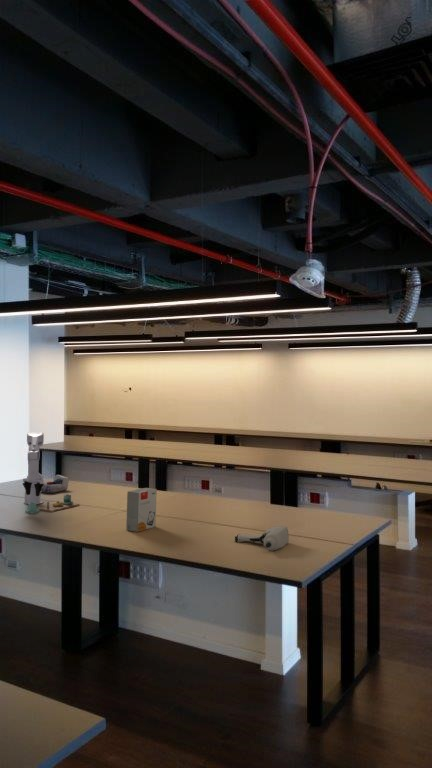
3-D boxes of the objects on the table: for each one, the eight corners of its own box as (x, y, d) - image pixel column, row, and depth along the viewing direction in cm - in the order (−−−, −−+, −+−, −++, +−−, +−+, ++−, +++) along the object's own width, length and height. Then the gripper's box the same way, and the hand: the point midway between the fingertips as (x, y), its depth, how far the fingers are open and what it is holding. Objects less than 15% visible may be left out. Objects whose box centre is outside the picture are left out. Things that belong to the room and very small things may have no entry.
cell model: (71, 475, 402) (48, 479, 385) (70, 490, 402) (48, 495, 386) (58, 473, 409) (35, 477, 392) (58, 488, 409) (35, 493, 393)
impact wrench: (222, 543, 262) (274, 535, 253) (239, 531, 284) (287, 524, 275) (226, 560, 262) (278, 554, 253) (242, 548, 283) (291, 541, 274)
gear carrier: (51, 512, 332) (51, 500, 332) (35, 509, 339) (35, 498, 339) (79, 505, 352) (79, 494, 352) (63, 503, 359) (64, 492, 359)
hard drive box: (137, 532, 289) (137, 493, 289) (125, 530, 293) (126, 491, 293) (156, 526, 302) (156, 488, 302) (145, 524, 306) (145, 487, 306)
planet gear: (22, 512, 331) (22, 503, 331) (32, 510, 338) (32, 501, 338) (31, 514, 327) (31, 504, 327) (42, 511, 334) (42, 502, 334)
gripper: (19, 471, 333) (18, 495, 332) (37, 473, 326) (36, 497, 325) (28, 470, 339) (28, 493, 339) (46, 472, 332) (46, 495, 331)
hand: (32, 495), depth 332 cm, fingers open, 7 cm apart
